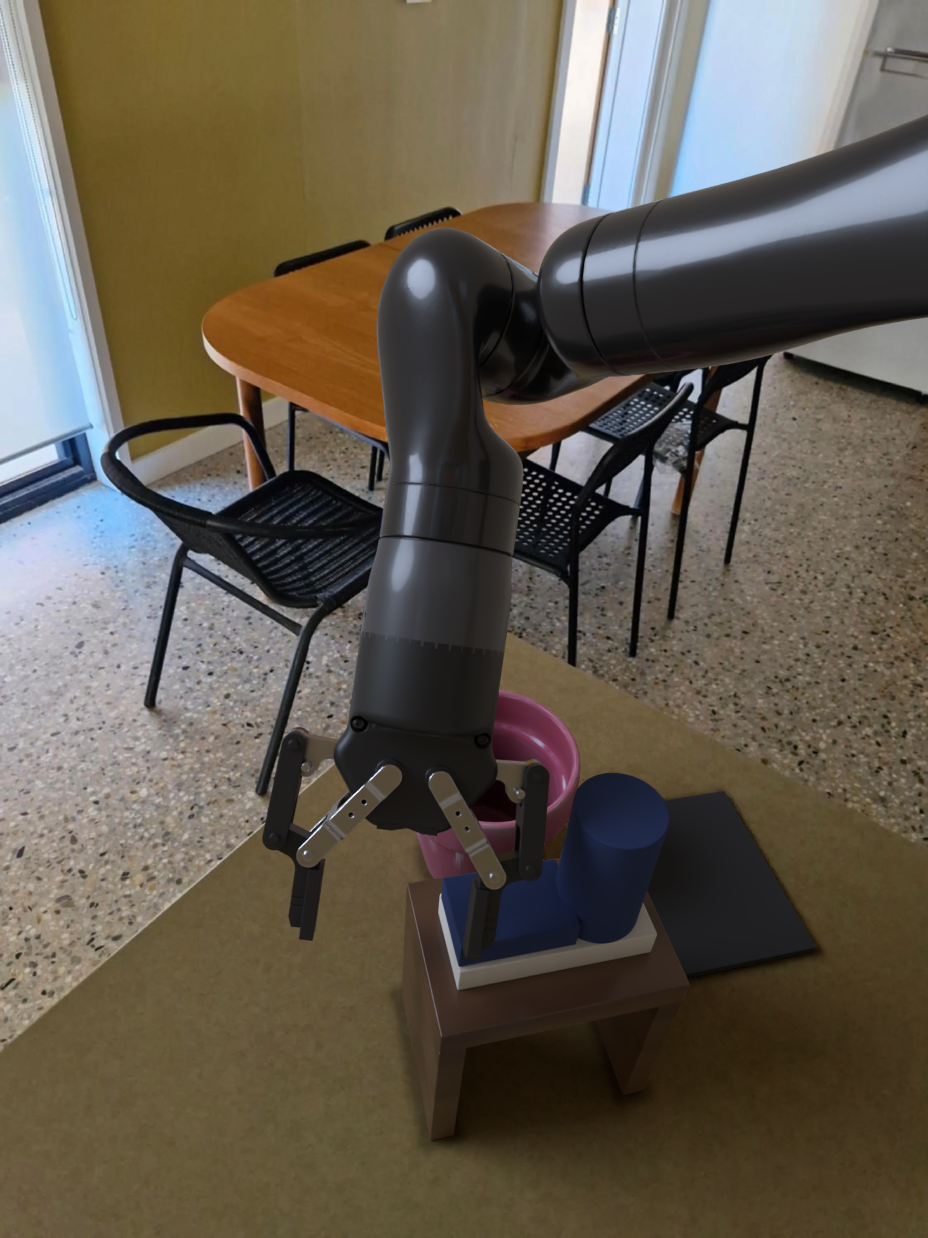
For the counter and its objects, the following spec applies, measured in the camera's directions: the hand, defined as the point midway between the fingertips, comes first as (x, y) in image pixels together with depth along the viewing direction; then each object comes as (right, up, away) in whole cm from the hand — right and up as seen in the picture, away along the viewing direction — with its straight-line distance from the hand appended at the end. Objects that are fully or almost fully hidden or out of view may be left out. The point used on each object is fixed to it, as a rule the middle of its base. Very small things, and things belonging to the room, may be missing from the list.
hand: (389, 945), depth 46 cm
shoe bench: (+8, -13, +17) cm, 23 cm away
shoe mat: (+24, -5, +29) cm, 37 cm away
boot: (+9, -2, +8) cm, 12 cm away
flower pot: (+5, -3, +29) cm, 30 cm away
